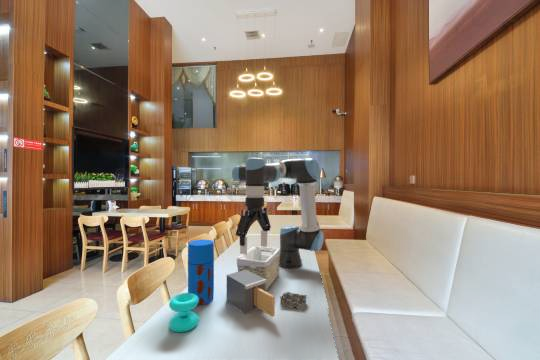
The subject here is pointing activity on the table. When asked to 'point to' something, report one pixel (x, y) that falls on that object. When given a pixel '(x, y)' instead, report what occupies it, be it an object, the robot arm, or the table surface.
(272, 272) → the storage basket
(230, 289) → the box
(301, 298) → the egg carton
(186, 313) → the turquoise hourglass spool
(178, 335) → the table surface
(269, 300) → the ticket
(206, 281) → the thermos
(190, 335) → the table surface
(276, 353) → the table surface
